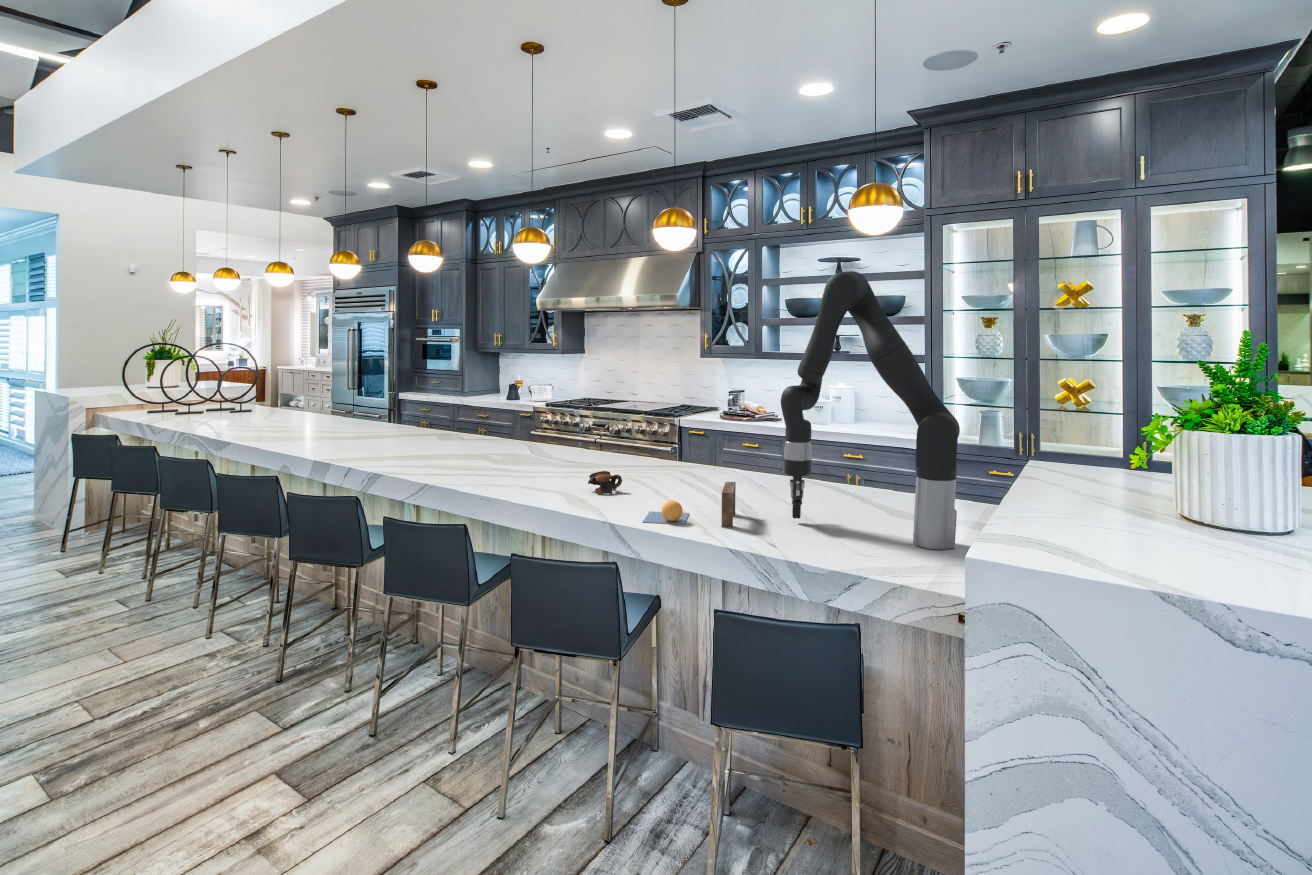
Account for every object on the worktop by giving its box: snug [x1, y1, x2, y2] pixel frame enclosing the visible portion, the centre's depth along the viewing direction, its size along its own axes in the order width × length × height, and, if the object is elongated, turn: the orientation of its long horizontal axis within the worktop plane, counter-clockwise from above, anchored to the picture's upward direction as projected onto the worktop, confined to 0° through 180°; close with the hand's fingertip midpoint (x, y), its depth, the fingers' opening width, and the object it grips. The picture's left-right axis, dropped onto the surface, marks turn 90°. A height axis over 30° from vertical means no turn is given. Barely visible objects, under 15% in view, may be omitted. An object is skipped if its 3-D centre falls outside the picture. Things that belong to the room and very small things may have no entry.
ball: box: [661, 500, 684, 522], centre depth 195 cm, size 6×6×6 cm
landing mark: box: [641, 510, 690, 525], centre depth 199 cm, size 12×12×1 cm
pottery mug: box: [587, 470, 623, 495], centre depth 234 cm, size 12×10×8 cm
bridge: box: [721, 481, 737, 528], centre depth 195 cm, size 3×15×10 cm, turn 171°
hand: (796, 517), depth 193 cm, fingers closed
